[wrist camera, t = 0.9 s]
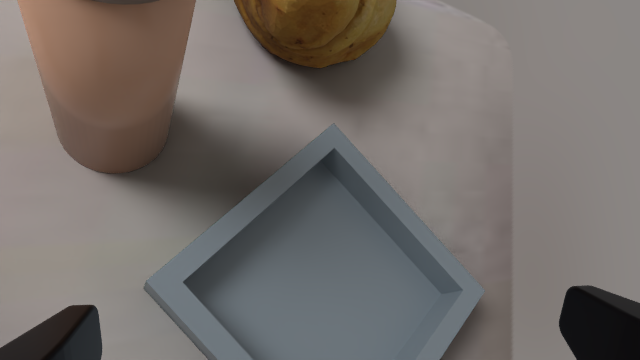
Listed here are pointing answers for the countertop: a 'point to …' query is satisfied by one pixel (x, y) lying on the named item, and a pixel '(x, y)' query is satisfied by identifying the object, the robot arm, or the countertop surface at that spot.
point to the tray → (318, 270)
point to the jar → (110, 74)
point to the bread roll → (317, 27)
